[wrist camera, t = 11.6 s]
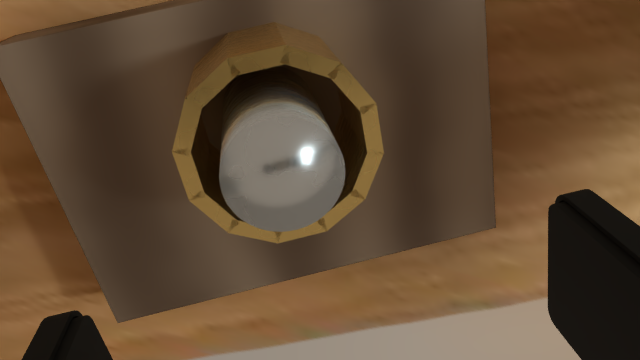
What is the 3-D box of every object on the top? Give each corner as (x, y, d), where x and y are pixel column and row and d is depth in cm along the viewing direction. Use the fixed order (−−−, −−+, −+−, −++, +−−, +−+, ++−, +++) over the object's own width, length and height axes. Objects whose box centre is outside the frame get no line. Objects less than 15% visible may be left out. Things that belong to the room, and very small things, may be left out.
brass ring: (337, 7, 21) (364, 26, 17) (364, 163, 25) (393, 214, 20) (164, 46, 21) (145, 76, 16) (214, 200, 24) (209, 260, 20)
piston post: (304, 55, 22) (333, 103, 16) (322, 141, 24) (354, 215, 17) (211, 77, 22) (203, 134, 16) (236, 162, 24) (238, 244, 17)
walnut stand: (453, -62, 24) (481, -62, 21) (472, 201, 30) (495, 227, 27) (15, 35, 23) (-14, 48, 20) (128, 287, 29) (117, 322, 26)
